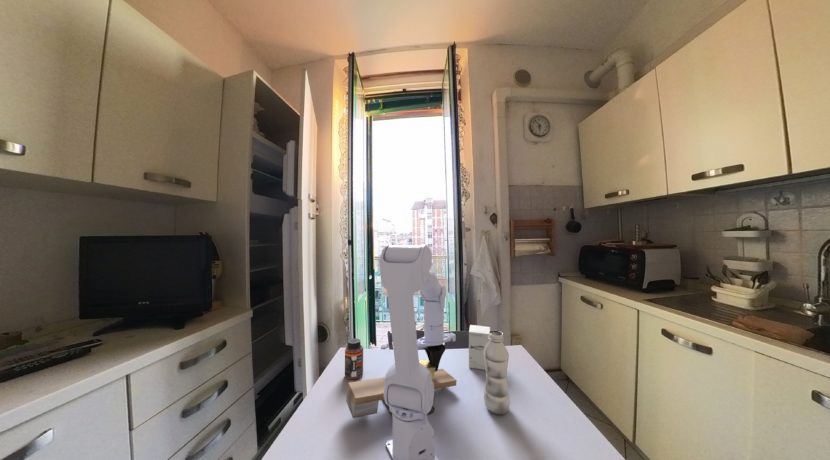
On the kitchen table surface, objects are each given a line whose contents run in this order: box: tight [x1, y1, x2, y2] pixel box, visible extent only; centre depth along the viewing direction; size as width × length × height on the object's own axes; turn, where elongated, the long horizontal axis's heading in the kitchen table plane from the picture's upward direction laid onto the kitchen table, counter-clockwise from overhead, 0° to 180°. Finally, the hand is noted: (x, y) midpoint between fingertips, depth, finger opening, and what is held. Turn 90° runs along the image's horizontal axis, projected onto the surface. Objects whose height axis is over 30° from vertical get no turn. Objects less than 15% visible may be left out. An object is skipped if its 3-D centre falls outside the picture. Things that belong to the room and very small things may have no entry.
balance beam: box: [345, 368, 457, 419], centre depth 67 cm, size 7×30×4 cm, turn 119°
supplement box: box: [468, 324, 491, 371], centre depth 87 cm, size 7×7×13 cm
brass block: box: [419, 359, 435, 382], centre depth 70 cm, size 5×5×4 cm
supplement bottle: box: [344, 338, 364, 381], centre depth 81 cm, size 6×6×11 cm
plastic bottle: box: [483, 329, 511, 415], centre depth 65 cm, size 6×7×20 cm
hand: (434, 369), depth 72 cm, fingers closed
